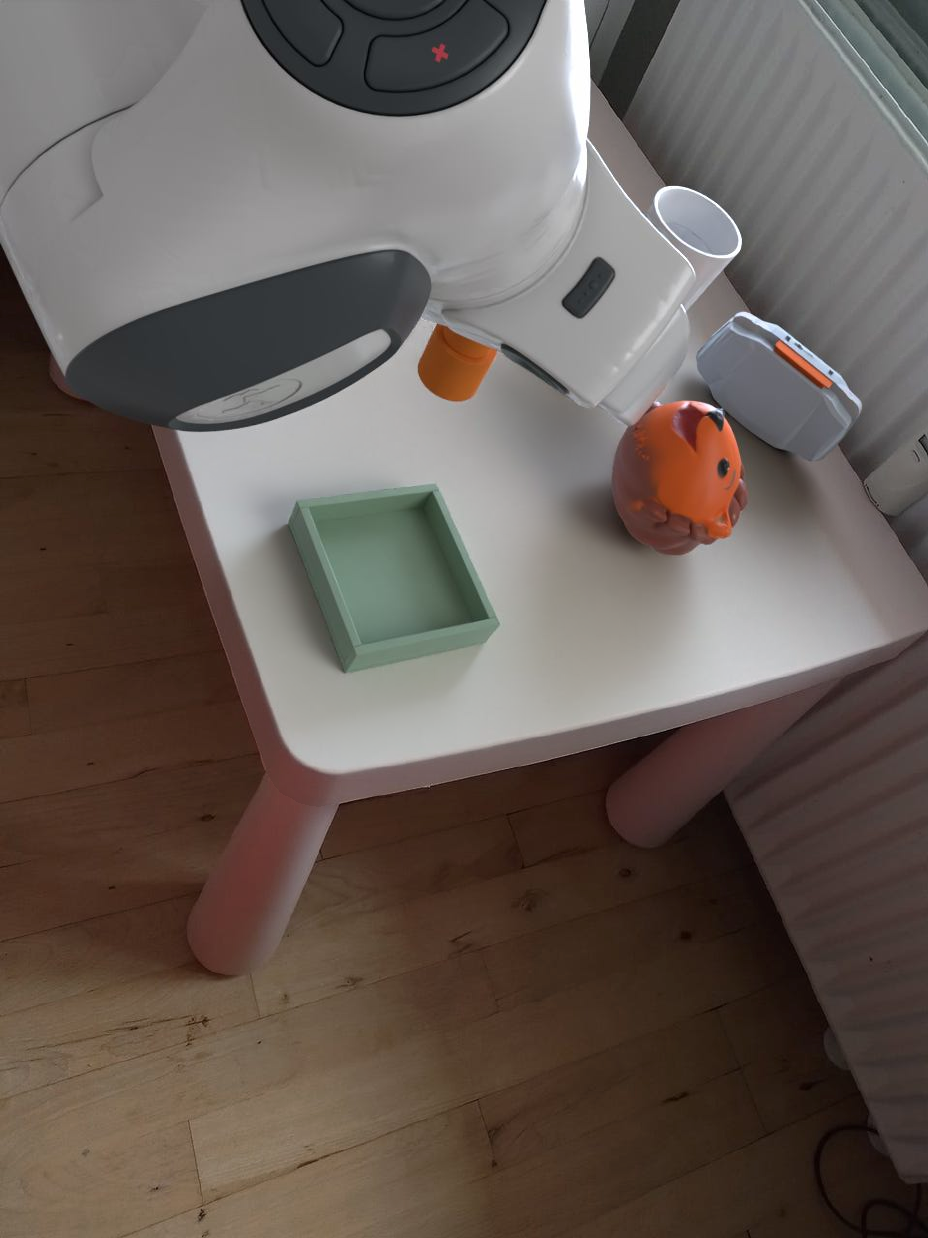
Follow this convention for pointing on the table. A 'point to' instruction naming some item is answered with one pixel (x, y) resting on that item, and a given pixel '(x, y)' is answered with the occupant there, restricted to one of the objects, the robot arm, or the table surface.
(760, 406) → the gray clasp case
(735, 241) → the cup
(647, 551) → the table surface
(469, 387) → the plug
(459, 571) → the basin
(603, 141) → the table surface
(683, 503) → the orange fox figurine
